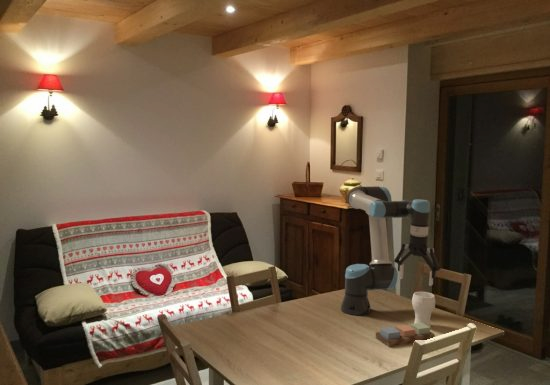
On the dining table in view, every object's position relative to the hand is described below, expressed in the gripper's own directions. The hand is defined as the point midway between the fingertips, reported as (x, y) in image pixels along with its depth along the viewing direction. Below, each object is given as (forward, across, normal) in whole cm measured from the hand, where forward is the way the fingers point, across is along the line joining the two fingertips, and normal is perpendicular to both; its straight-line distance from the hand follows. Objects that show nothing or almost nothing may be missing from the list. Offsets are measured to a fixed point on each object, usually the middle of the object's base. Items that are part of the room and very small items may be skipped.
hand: (415, 281), depth 216 cm
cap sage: (+23, +3, +1) cm, 23 cm away
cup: (+26, -1, +16) cm, 30 cm away
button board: (+25, -1, -6) cm, 26 cm away
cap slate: (+23, -5, -12) cm, 27 cm away
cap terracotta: (+23, -1, -5) cm, 24 cm away
